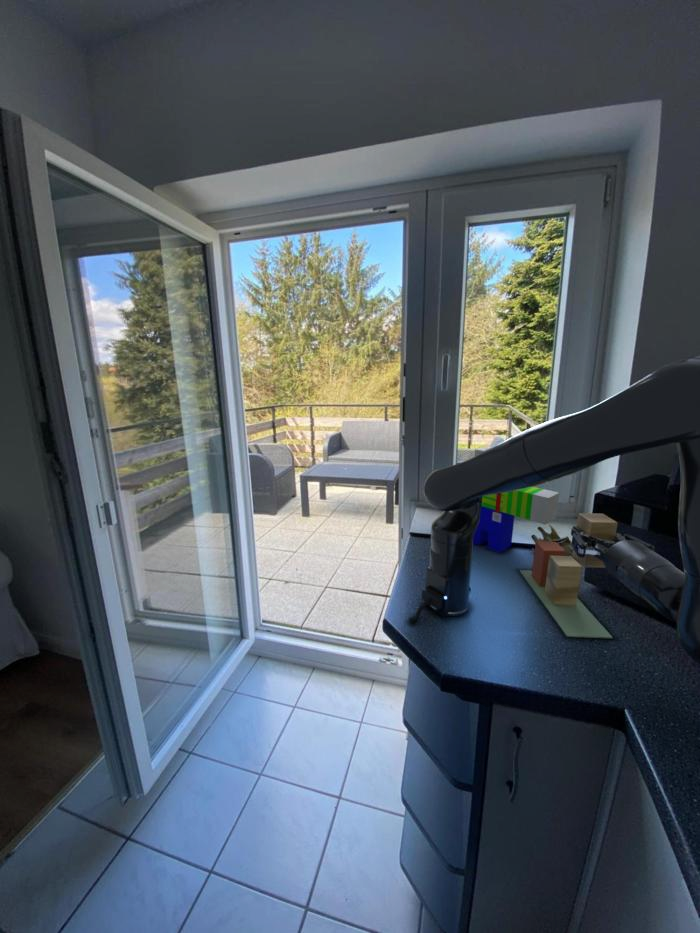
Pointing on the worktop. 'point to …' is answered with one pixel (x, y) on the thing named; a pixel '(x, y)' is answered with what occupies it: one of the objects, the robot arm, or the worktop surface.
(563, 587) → the maple block
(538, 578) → the terracotta block
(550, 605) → the mat
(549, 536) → the jawbone
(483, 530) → the toy
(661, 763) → the worktop surface
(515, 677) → the worktop surface
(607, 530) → the maple block
